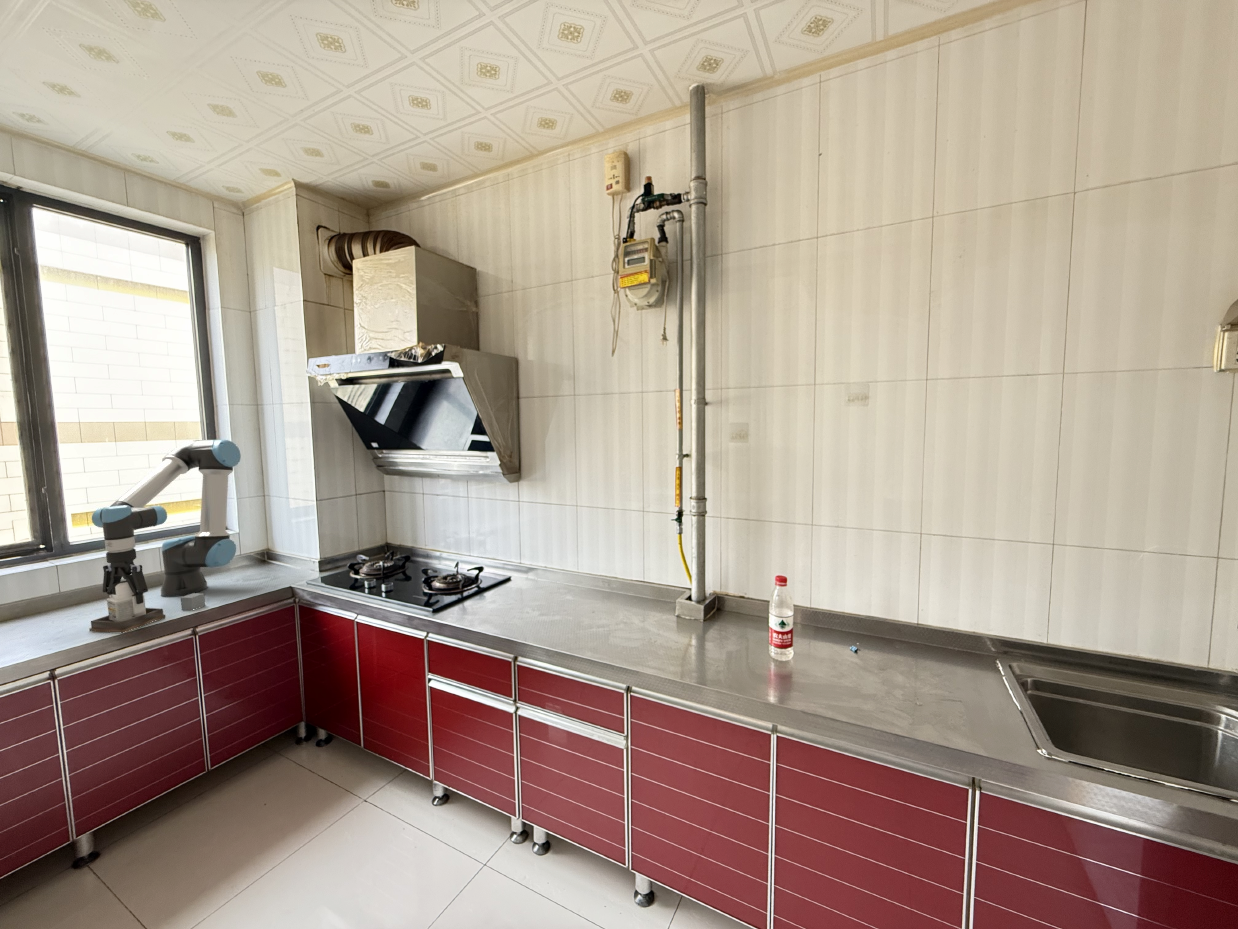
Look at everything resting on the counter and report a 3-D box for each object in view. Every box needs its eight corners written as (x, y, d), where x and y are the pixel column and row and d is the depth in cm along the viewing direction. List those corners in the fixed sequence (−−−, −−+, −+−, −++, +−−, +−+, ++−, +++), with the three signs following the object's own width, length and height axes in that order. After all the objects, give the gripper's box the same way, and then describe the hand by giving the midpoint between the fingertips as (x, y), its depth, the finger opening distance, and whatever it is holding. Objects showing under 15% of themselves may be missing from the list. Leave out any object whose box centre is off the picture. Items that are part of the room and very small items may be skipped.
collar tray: (134, 616, 190) (133, 606, 190) (165, 617, 188) (164, 608, 187) (89, 631, 176) (88, 621, 176) (122, 633, 174) (121, 623, 173)
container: (108, 619, 180) (104, 583, 179) (137, 612, 187) (133, 577, 186) (118, 623, 176) (114, 586, 175) (146, 615, 183) (143, 580, 182)
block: (194, 605, 200) (193, 593, 200) (205, 606, 199) (204, 593, 199) (181, 610, 195) (180, 597, 195) (192, 610, 194) (191, 598, 194)
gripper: (83, 552, 178) (90, 614, 180) (134, 553, 174) (141, 617, 176) (108, 546, 185) (114, 607, 187) (157, 547, 181) (164, 609, 183)
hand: (127, 612), depth 182 cm, fingers closed on container, 9 cm apart
